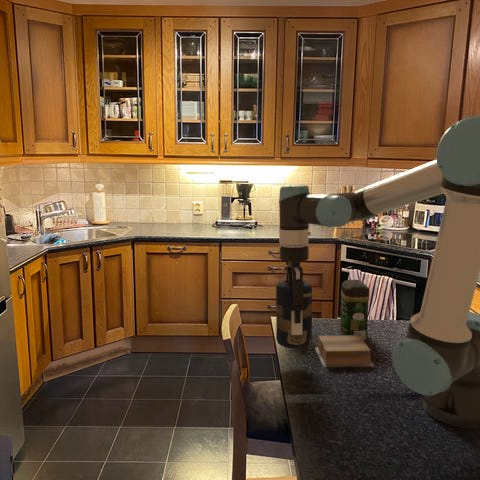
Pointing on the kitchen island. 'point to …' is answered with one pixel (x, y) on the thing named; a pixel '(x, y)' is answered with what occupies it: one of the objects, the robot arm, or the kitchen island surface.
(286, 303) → the canister
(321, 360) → the board
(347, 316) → the coffee jar
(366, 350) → the base block
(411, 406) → the kitchen island surface
